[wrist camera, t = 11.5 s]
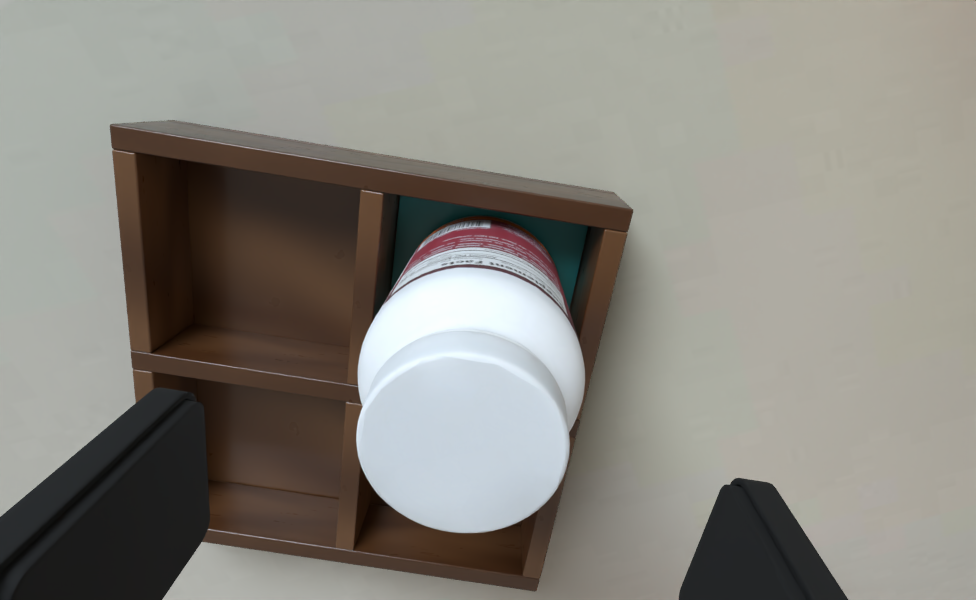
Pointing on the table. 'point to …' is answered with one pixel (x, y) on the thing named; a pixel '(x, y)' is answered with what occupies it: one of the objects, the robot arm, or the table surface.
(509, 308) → the pill bottle
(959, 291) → the table surface
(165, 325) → the grid
